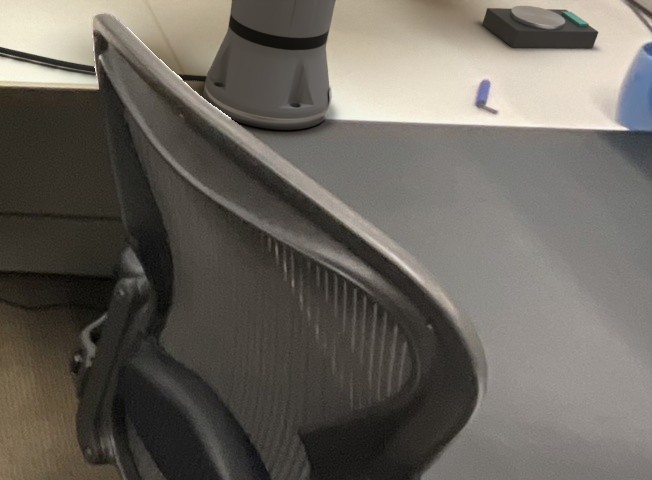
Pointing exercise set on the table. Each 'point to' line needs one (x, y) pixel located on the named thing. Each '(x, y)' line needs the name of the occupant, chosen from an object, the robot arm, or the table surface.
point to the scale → (539, 28)
